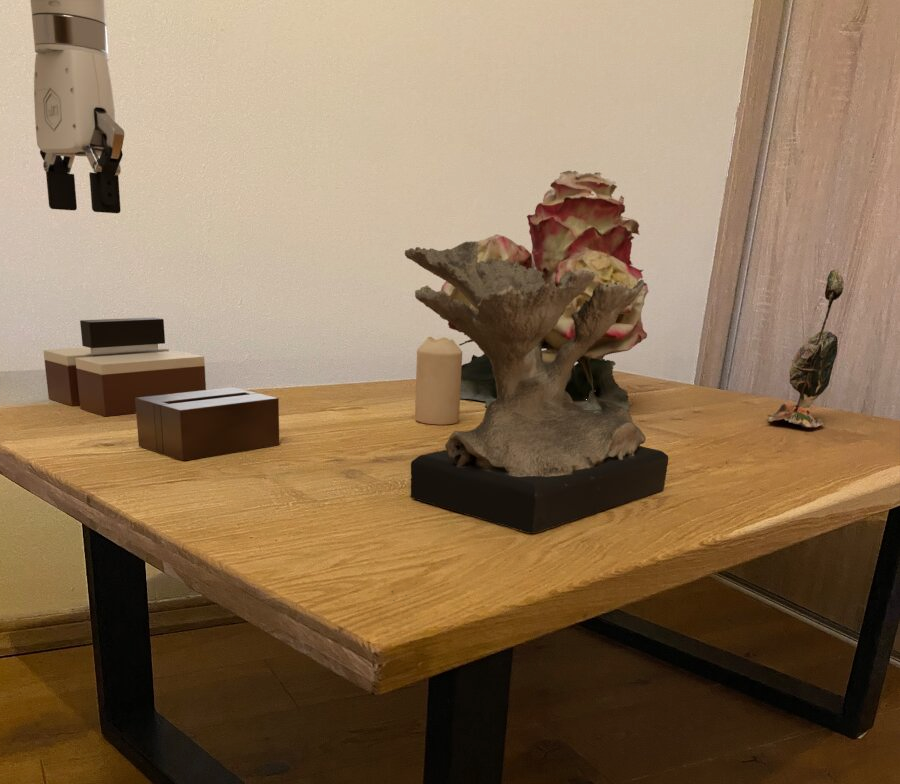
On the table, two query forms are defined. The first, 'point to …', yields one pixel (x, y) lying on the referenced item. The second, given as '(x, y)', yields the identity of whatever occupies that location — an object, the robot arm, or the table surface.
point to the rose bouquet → (558, 250)
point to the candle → (438, 382)
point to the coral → (531, 401)
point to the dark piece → (122, 335)
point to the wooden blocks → (119, 378)
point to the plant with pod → (813, 366)
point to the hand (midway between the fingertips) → (84, 211)
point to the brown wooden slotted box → (207, 422)
